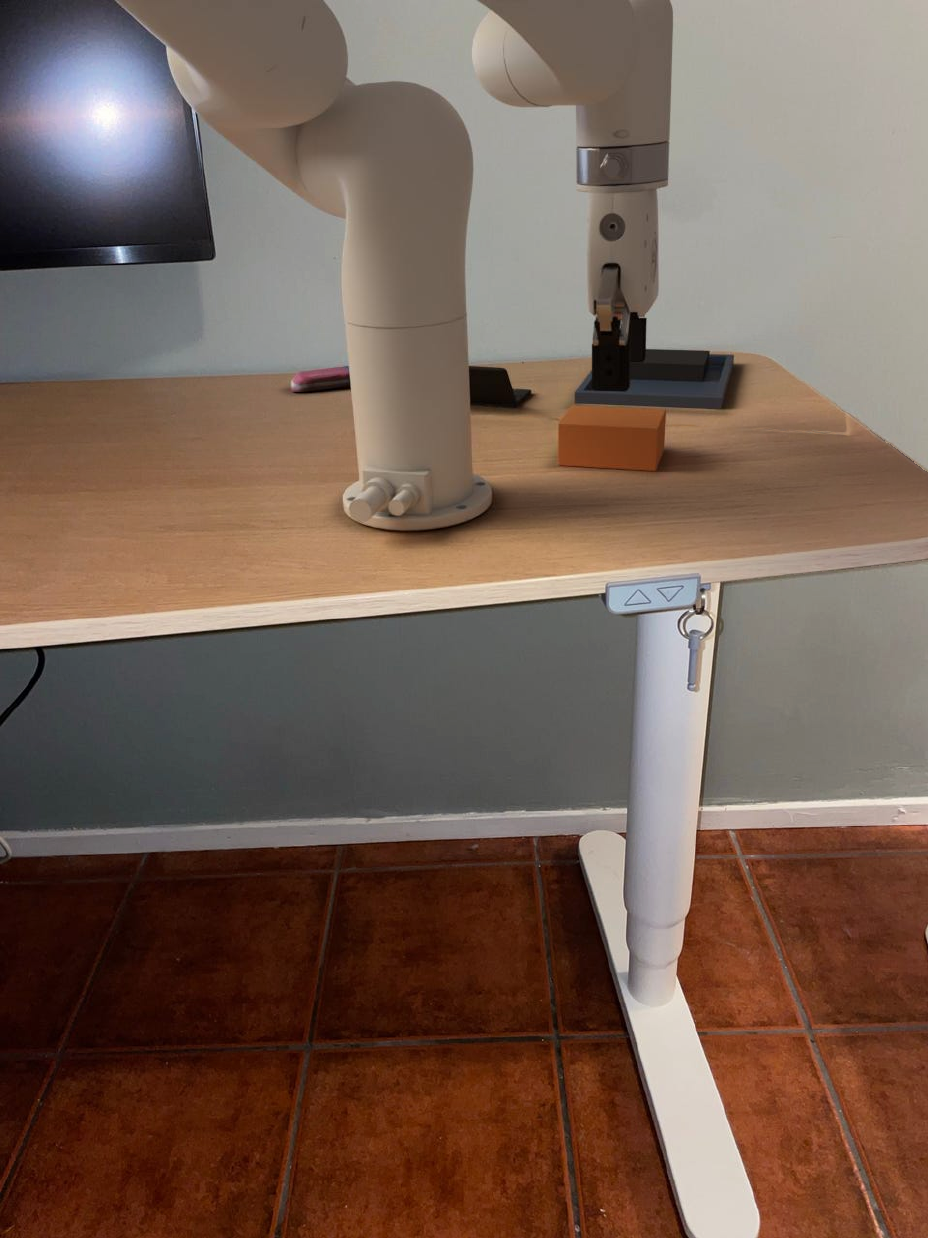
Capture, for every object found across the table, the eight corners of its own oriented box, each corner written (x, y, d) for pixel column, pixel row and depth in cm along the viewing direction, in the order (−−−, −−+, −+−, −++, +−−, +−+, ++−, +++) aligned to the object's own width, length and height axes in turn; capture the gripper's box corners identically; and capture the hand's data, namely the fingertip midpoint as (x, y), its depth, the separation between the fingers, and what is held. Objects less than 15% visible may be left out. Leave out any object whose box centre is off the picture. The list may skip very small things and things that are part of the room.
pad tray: (720, 413, 105) (722, 397, 104) (574, 407, 109) (574, 391, 108) (733, 368, 121) (734, 354, 121) (605, 364, 126) (605, 350, 125)
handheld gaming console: (533, 377, 114) (513, 318, 106) (531, 429, 111) (510, 373, 103) (437, 390, 117) (410, 333, 109) (432, 441, 114) (404, 387, 106)
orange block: (655, 471, 90) (658, 428, 88) (557, 465, 92) (557, 423, 90) (664, 450, 95) (666, 409, 93) (570, 445, 97) (571, 405, 96)
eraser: (292, 394, 119) (290, 379, 118) (289, 386, 122) (287, 371, 121) (386, 382, 121) (384, 368, 120) (380, 374, 124) (378, 360, 123)
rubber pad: (703, 381, 114) (704, 364, 114) (616, 378, 117) (616, 361, 116) (708, 367, 120) (709, 350, 119) (625, 364, 123) (626, 348, 122)
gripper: (654, 177, 74) (648, 404, 82) (680, 157, 88) (673, 351, 96) (555, 181, 76) (558, 401, 84) (595, 161, 91) (595, 351, 99)
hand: (619, 375), depth 90 cm, fingers open, 9 cm apart
